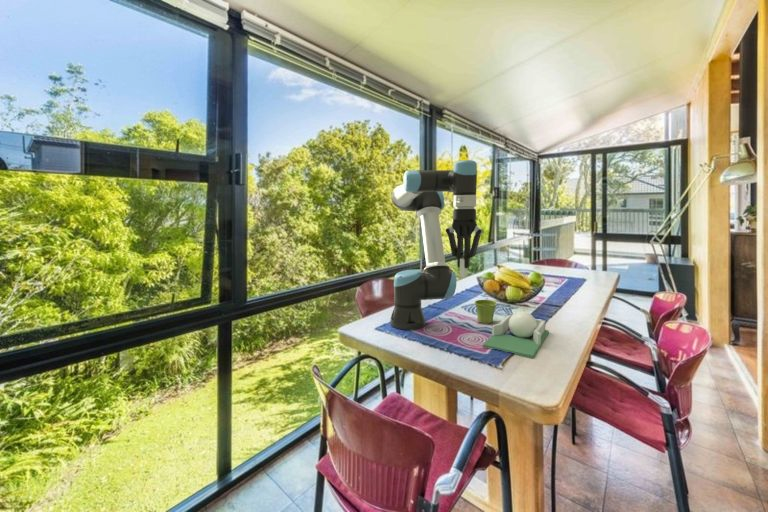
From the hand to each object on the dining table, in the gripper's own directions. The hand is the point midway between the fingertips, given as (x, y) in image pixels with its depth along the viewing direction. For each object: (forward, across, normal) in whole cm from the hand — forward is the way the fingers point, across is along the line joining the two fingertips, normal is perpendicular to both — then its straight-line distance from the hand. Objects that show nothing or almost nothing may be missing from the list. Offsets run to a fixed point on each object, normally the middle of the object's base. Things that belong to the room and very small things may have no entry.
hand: (463, 276), depth 118 cm
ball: (+21, +15, +23) cm, 35 cm away
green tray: (+26, +14, +20) cm, 36 cm away
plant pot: (+27, -3, +33) cm, 42 cm away
